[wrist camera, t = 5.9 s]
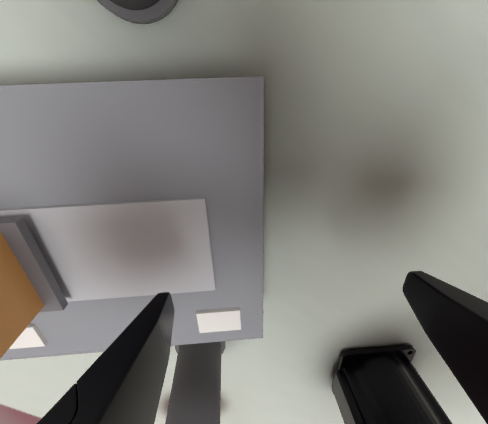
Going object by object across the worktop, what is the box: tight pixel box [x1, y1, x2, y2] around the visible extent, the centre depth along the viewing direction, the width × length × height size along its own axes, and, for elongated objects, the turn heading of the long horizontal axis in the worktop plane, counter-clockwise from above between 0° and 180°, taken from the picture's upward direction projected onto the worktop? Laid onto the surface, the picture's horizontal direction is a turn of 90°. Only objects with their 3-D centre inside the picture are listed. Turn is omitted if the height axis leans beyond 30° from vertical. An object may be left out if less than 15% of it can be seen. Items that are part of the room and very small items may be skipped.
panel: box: [0, 76, 264, 360], centre depth 12 cm, size 16×14×3 cm
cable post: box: [165, 341, 225, 424], centre depth 15 cm, size 4×4×8 cm
